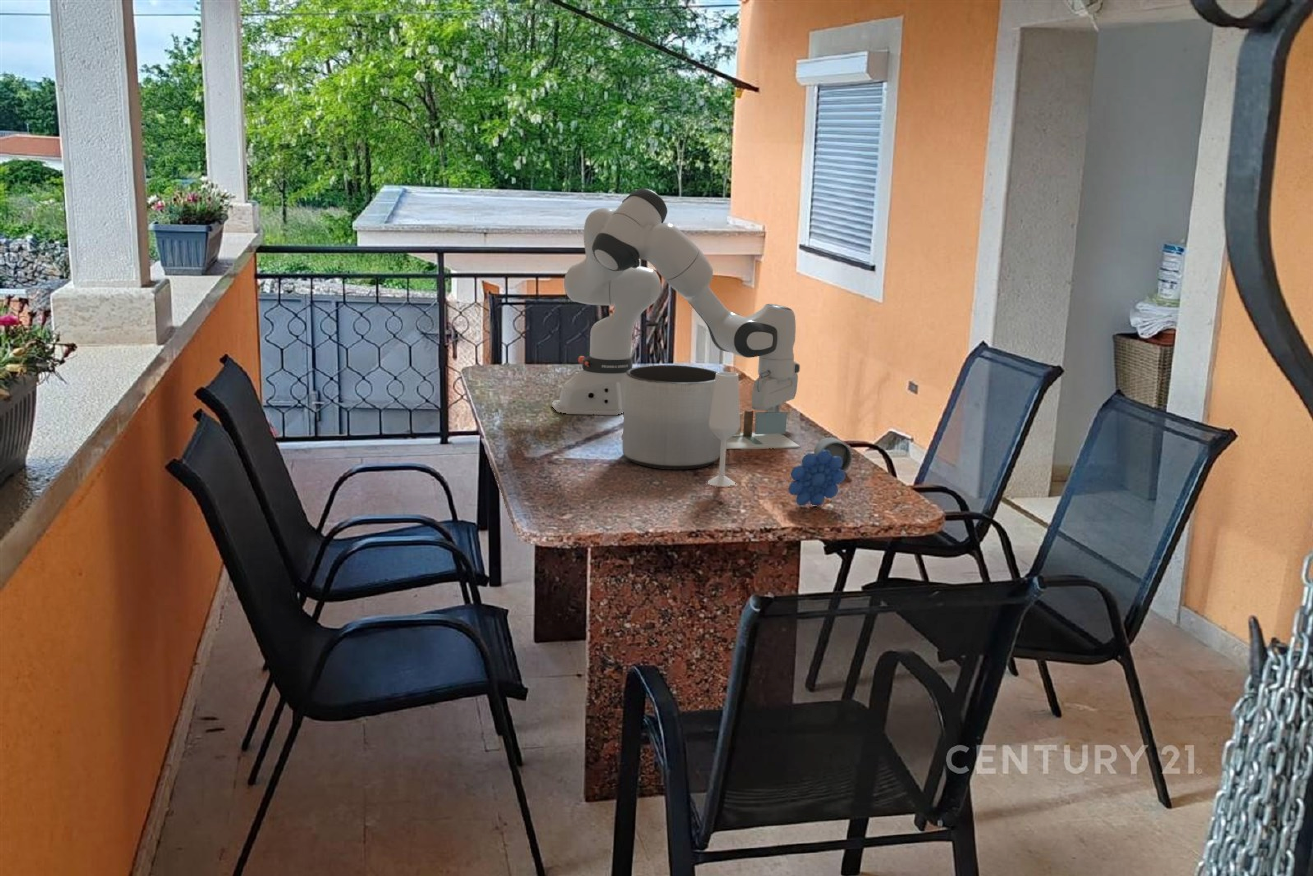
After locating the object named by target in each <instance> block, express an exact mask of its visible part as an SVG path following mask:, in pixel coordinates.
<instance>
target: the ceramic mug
mask: <svg viewBox="0 0 1313 876" xmlns="http://www.w3.org/2000/svg"><path fill="white" fill-rule="evenodd" d="M822 450H829V451H830V452H831V458H832V457H834V456H840V457H841V458H842V461H843V464H842V466H841V468H840V469H841V470H843V471H844V472H845V473H846V471H848V469H850V467H851V465H852V462H853V454H852V450H851V449H850V447H849V446H848V445H847V444H846V443H844V442H843V441H842V440H840V439H838V438H836V437H829V436H828V437H824V438H821V440H819V441H818V442H817V443H816V445H815V447H814V450H813V454H815V455H816V457H817V455H818V453H819V452H820V451H822ZM800 466H803V465H802V462H801V463H800Z"/></svg>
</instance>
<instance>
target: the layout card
mask: <svg viewBox="0 0 1313 876" xmlns="http://www.w3.org/2000/svg"><path fill="white" fill-rule="evenodd" d="M769 448H770V449H771V450H772V448H774V449H800V448H801V446H800V445H799V444H797V443H796V442H794V441H793V440H791V439H790V438H788V437H786V436H785V435H784V434H755V432H752V436H751V437H746V436H743V432H741V435H733V436H732V437H731V438H730V439H728V440H726V449H741V450H770V449H769ZM774 449H773V450H774Z"/></svg>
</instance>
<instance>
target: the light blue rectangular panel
mask: <svg viewBox="0 0 1313 876" xmlns="http://www.w3.org/2000/svg"><path fill="white" fill-rule="evenodd" d="M754 414H755V420H754V433H755V434H782V435H784V434H786V433H787V419H788V412H787V411H780V412H766V411H763V412H762V411H758V412H757V411H756V412H754Z"/></svg>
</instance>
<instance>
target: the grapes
mask: <svg viewBox="0 0 1313 876" xmlns="http://www.w3.org/2000/svg"><path fill="white" fill-rule="evenodd" d="M801 463H802V465H803V466H801V465H796V466H794V467H793V468H792V470H791V472H790V477H791V479H792V480H793V481H792V482H790V484H789V486H788V493H789V494H790V495H791V496H792V495H793V496H796V498H795V500H796V503H797V505H799V506H806V505H807V504H810V505H811V504H812V505H817V506H818V505H820V506H822V504H823V503H824V502H825V498H826V499H832V498H834V497H836V495H837V494H838V492H839V488H838V485H840V484H841V483H843V482H844V481H845V479H846V471H845V472H844V471H843V470H841V469H840V468H841V466H842V464H843V461H842V458H841V457H840V456H834V457H832V458H831V452H830V451H829V450H822V451H820V452H819V453H818V455H817V457H816V455H815V454H814V453H811V452H810V453H807V454H805V455H804V456H803V458H802V459H801ZM812 505H811V506H812ZM818 507H819V506H818Z"/></svg>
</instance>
